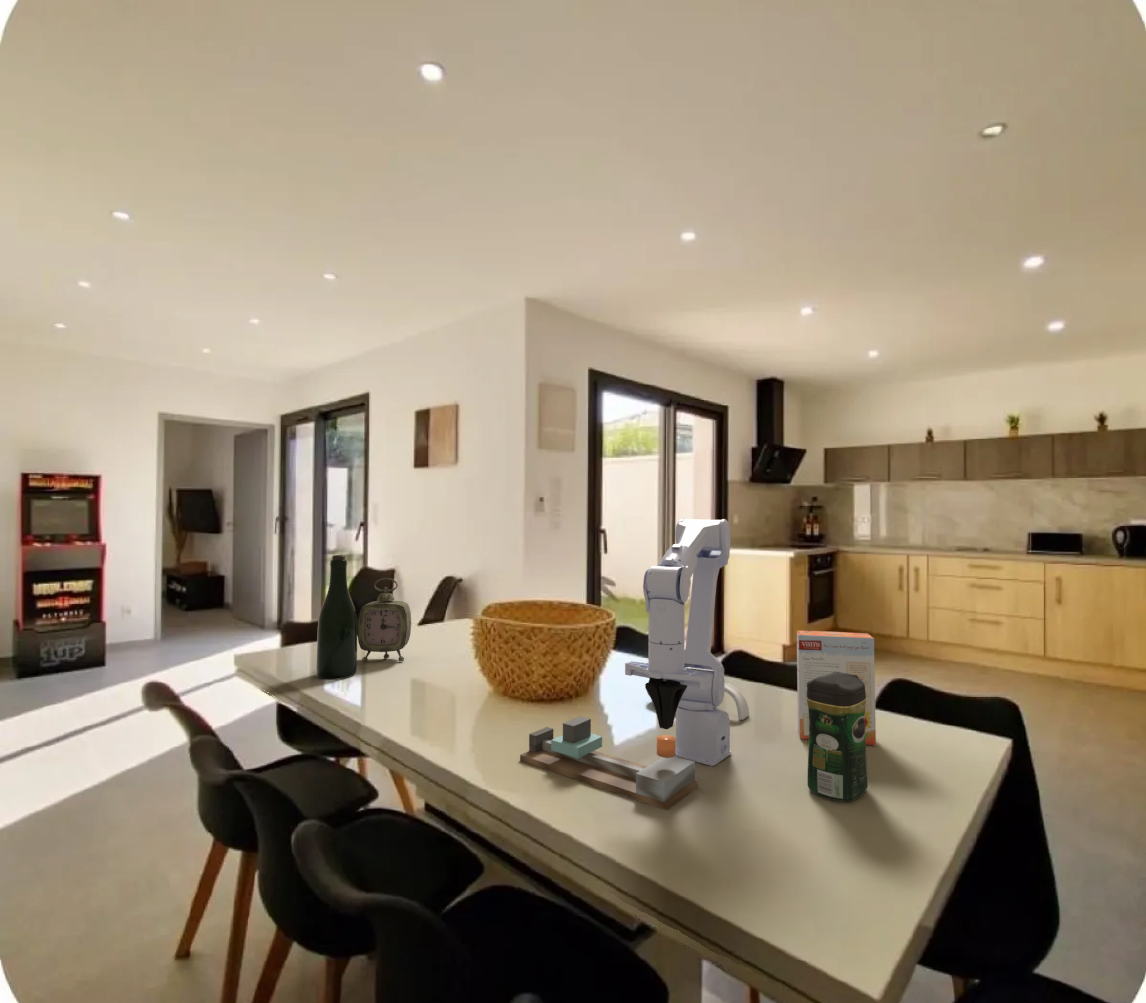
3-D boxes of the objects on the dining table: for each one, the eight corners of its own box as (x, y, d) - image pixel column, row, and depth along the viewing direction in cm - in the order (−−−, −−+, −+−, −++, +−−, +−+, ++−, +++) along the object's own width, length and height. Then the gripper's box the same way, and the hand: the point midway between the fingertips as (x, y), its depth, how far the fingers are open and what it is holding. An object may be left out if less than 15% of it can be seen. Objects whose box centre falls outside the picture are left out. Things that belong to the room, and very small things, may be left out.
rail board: (697, 787, 100) (697, 762, 100) (667, 810, 92) (667, 783, 92) (555, 744, 119) (555, 723, 119) (519, 760, 111) (519, 737, 111)
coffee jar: (825, 774, 105) (825, 665, 106) (874, 790, 100) (873, 674, 100) (798, 791, 99) (798, 675, 99) (848, 809, 93) (848, 685, 94)
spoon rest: (638, 707, 144) (638, 676, 144) (660, 695, 153) (660, 666, 154) (737, 726, 130) (737, 692, 131) (755, 712, 140) (755, 680, 140)
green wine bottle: (347, 680, 164) (349, 556, 165) (309, 679, 165) (311, 555, 166) (362, 670, 175) (364, 554, 176) (326, 670, 175) (328, 553, 176)
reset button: (679, 753, 99) (679, 737, 99) (669, 759, 96) (669, 743, 96) (662, 749, 100) (662, 733, 100) (653, 754, 98) (653, 738, 98)
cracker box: (870, 736, 124) (869, 632, 125) (876, 747, 118) (875, 637, 119) (796, 729, 128) (796, 628, 129) (799, 739, 122) (798, 633, 123)
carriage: (602, 746, 110) (602, 719, 110) (578, 758, 105) (578, 730, 105) (575, 739, 114) (575, 712, 114) (551, 750, 108) (551, 722, 109)
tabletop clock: (356, 664, 183) (358, 579, 183) (364, 657, 192) (365, 576, 192) (406, 663, 184) (407, 579, 184) (411, 656, 193) (413, 576, 193)
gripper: (614, 639, 100) (614, 723, 100) (696, 651, 91) (696, 744, 91) (638, 633, 106) (637, 713, 105) (716, 644, 97) (716, 731, 96)
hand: (666, 727), depth 98 cm, fingers closed
